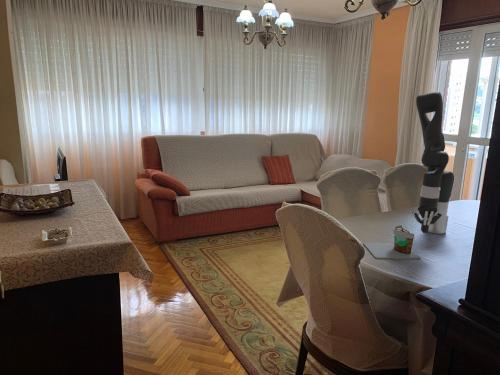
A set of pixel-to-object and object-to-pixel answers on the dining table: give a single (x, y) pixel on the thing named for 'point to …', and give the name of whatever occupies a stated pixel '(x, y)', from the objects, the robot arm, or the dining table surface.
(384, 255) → the felt mat
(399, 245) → the food container
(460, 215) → the dining table surface
